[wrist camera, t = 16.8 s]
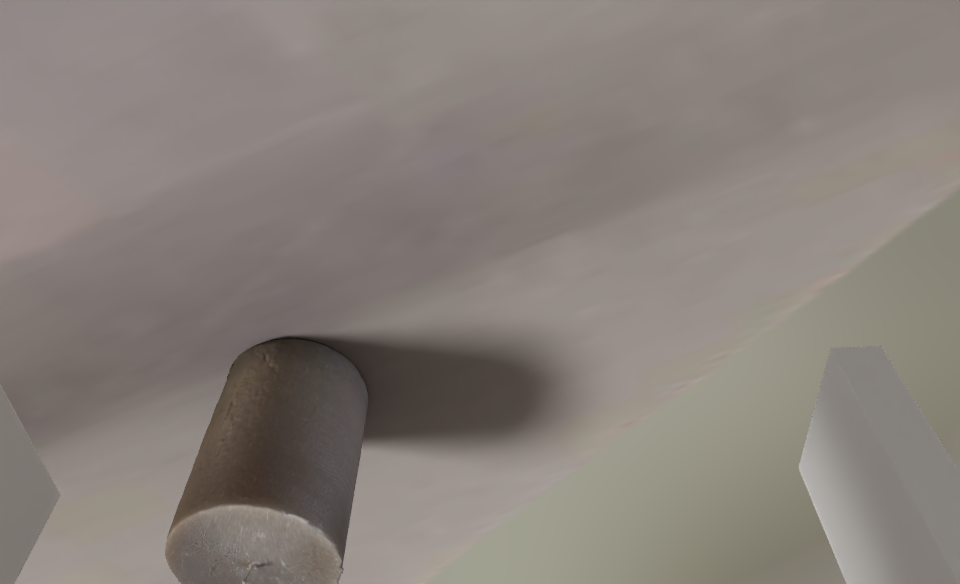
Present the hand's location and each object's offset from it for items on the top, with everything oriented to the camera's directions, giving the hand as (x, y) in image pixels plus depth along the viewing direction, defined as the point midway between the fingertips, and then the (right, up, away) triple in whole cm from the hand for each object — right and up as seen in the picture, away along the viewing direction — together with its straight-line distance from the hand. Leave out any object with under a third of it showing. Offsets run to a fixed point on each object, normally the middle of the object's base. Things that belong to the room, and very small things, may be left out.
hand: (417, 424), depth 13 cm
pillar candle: (-11, -5, +42) cm, 44 cm away
